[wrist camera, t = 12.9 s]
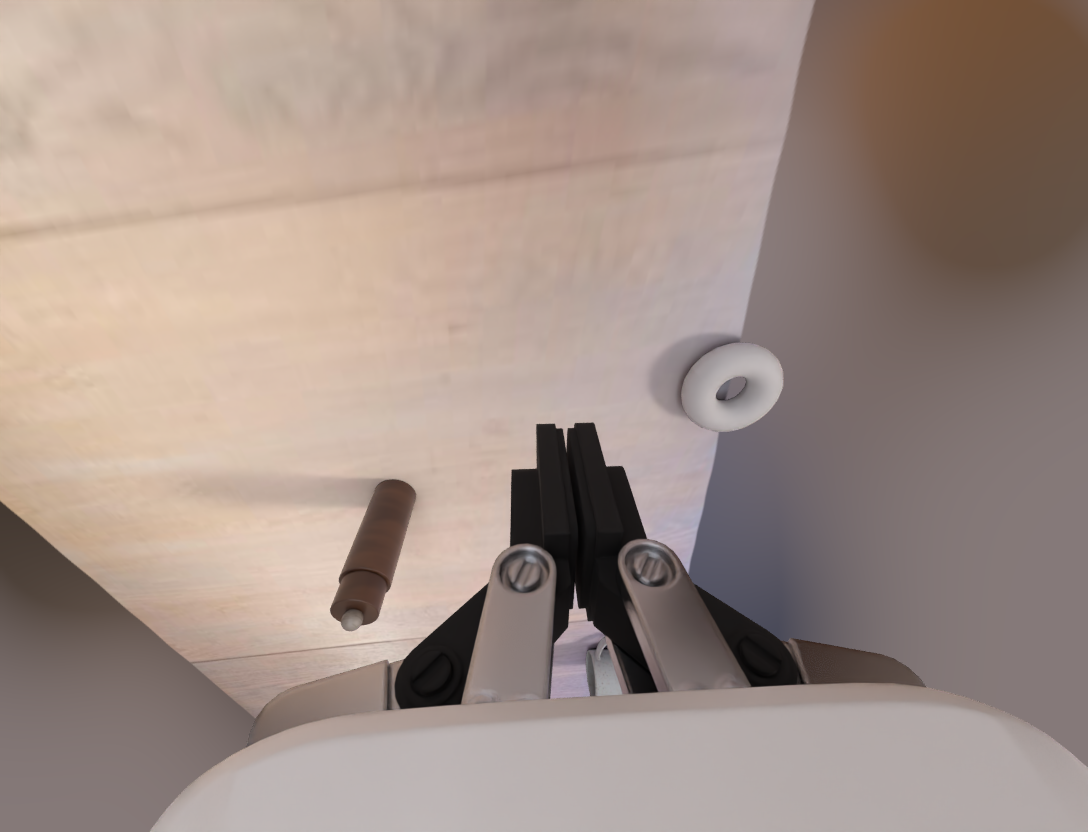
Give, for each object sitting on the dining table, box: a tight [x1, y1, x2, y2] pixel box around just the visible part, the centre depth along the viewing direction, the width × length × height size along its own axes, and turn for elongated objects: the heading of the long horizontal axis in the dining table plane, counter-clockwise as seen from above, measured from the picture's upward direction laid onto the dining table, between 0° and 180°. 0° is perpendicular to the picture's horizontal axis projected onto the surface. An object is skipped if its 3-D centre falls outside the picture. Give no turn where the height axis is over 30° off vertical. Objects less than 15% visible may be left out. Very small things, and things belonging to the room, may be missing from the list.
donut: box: [681, 343, 783, 432], centre depth 41 cm, size 10×3×10 cm
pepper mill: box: [330, 480, 416, 631], centre depth 42 cm, size 5×5×16 cm
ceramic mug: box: [586, 637, 623, 696], centre depth 69 cm, size 11×8×8 cm
